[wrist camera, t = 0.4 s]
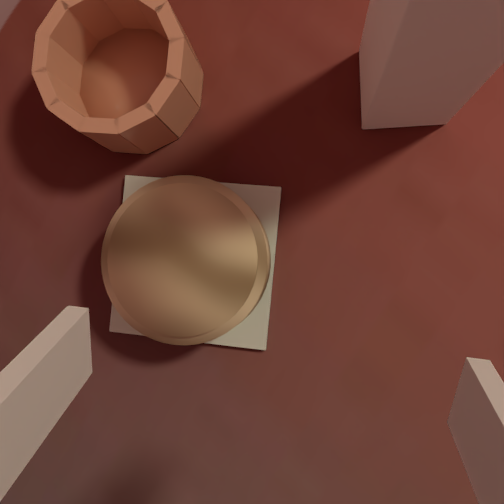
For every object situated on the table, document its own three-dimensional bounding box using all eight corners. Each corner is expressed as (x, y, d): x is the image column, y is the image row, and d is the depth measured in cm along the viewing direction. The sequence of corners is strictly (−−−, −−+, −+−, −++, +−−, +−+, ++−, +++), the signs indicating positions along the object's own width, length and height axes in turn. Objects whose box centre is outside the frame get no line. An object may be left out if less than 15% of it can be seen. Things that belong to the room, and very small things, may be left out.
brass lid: (263, 347, 34) (257, 355, 31) (111, 329, 36) (90, 335, 32) (278, 189, 35) (274, 180, 31) (127, 177, 36) (108, 168, 33)
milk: (446, 125, 34) (697, -131, 12) (360, 130, 35) (448, -102, 13) (442, 41, 34) (682, -361, 12) (357, 48, 35) (438, -320, 13)
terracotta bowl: (195, 157, 36) (174, 137, 31) (67, 148, 37) (25, 128, 32) (208, 23, 36) (190, -20, 31) (81, 19, 38) (41, -24, 32)
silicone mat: (265, 349, 35) (265, 350, 34) (111, 330, 36) (109, 331, 36) (281, 187, 35) (281, 186, 35) (127, 176, 37) (125, 175, 36)
